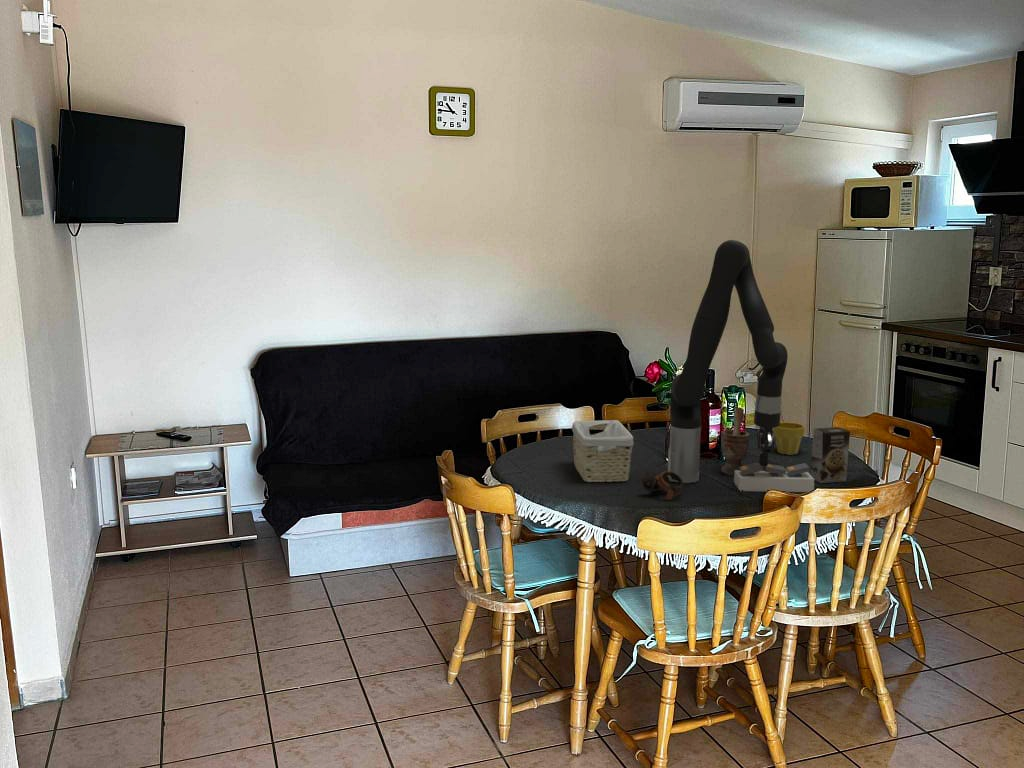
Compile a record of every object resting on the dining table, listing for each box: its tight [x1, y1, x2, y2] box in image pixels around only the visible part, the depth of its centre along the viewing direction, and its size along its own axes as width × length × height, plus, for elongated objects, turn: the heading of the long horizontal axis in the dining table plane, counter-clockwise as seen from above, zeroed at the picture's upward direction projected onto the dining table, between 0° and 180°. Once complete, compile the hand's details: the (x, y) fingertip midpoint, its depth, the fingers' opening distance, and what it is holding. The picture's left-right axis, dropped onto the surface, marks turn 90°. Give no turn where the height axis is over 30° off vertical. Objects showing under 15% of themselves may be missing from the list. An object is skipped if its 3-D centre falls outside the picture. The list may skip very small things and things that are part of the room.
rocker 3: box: [785, 462, 811, 476], centre depth 276 cm, size 6×4×2 cm
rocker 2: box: [762, 463, 786, 475], centre depth 277 cm, size 6×4×2 cm
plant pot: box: [772, 421, 806, 456], centre depth 315 cm, size 10×10×10 cm
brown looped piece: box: [641, 470, 684, 501], centre depth 269 cm, size 12×10×8 cm
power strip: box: [733, 470, 815, 493], centre depth 277 cm, size 22×8×5 cm, turn 87°
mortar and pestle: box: [720, 407, 750, 476], centre depth 293 cm, size 12×9×20 cm
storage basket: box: [571, 419, 634, 483], centre depth 291 cm, size 24×16×15 cm
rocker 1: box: [739, 461, 764, 475], centre depth 277 cm, size 6×4×2 cm
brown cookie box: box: [809, 426, 851, 484], centre depth 284 cm, size 9×6×16 cm
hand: (763, 465), depth 277 cm, fingers closed
